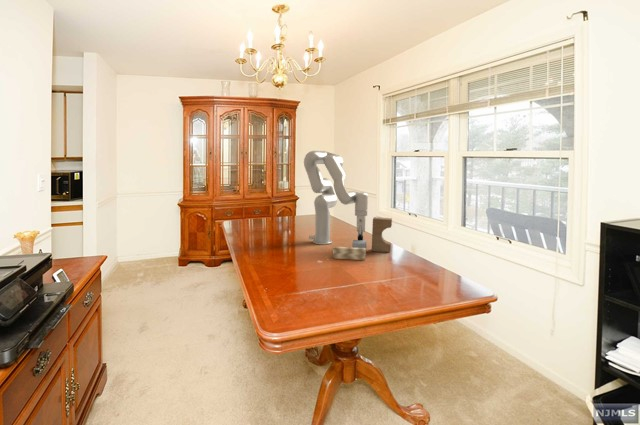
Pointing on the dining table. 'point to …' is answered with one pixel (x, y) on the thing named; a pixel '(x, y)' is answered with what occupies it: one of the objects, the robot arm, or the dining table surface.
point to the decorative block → (380, 234)
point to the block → (359, 244)
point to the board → (349, 253)
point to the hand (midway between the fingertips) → (360, 242)
